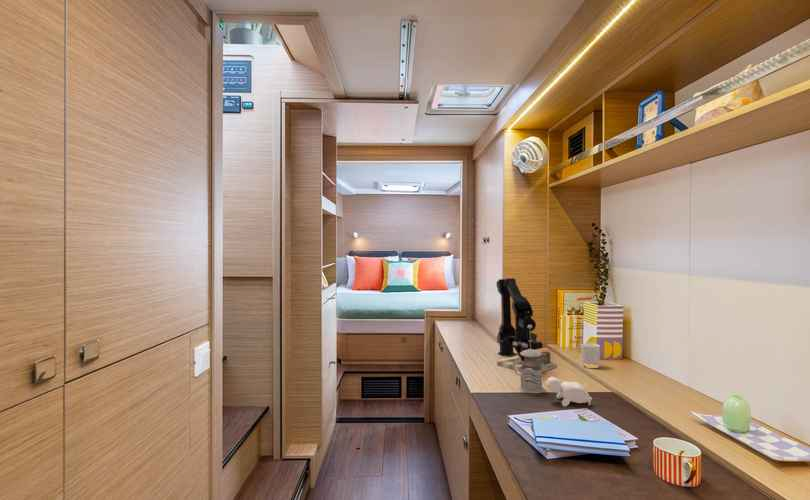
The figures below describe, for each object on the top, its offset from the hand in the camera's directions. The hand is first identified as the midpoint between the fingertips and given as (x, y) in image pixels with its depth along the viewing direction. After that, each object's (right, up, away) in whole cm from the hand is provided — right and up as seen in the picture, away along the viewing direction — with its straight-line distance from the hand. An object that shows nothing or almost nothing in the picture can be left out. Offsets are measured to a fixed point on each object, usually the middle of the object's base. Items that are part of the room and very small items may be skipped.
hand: (522, 360), depth 182 cm
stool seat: (+2, -3, +2) cm, 4 cm away
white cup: (+31, -2, -2) cm, 31 cm away
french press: (-6, -3, -29) cm, 30 cm away
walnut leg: (+6, 0, -2) cm, 7 cm away
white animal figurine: (+3, -3, -43) cm, 44 cm away
